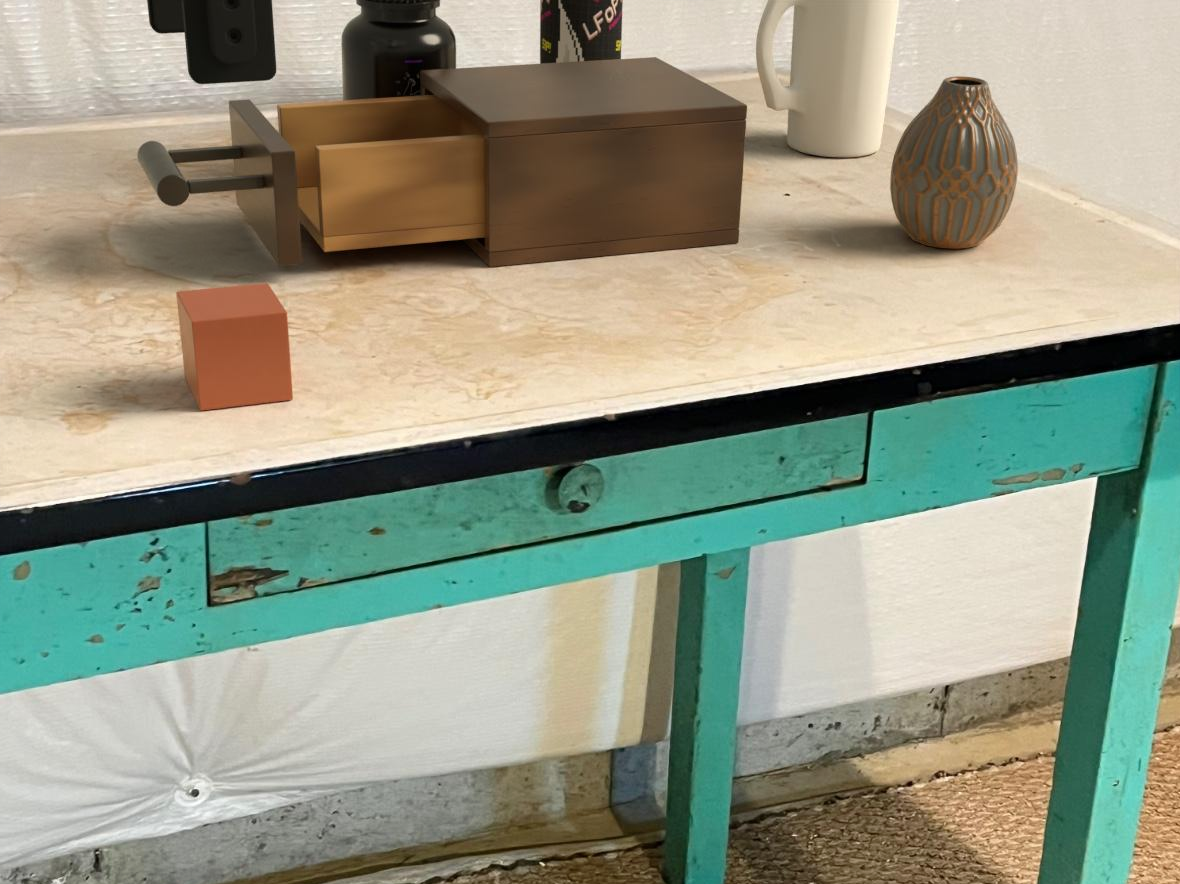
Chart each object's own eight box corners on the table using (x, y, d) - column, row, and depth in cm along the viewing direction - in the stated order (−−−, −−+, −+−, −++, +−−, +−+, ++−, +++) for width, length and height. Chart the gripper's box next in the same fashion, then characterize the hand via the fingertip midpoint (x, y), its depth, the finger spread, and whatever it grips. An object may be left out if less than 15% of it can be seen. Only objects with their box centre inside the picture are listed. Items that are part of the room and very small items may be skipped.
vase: (925, 262, 92) (945, 99, 88) (862, 226, 98) (877, 71, 94) (1031, 251, 95) (1056, 90, 90) (964, 216, 100) (984, 64, 96)
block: (200, 411, 72) (191, 321, 70) (184, 377, 75) (175, 291, 73) (293, 400, 73) (287, 311, 72) (274, 367, 77) (268, 282, 75)
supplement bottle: (412, 198, 101) (406, -14, 95) (323, 179, 104) (312, -28, 98) (479, 173, 106) (477, -30, 100) (392, 156, 109) (385, -42, 103)
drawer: (171, 276, 85) (159, 160, 82) (138, 212, 94) (127, 106, 91) (530, 243, 91) (530, 134, 88) (466, 186, 100) (464, 86, 97)
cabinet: (489, 267, 90) (488, 122, 86) (423, 202, 100) (419, 70, 96) (738, 243, 95) (747, 104, 91) (651, 183, 105) (656, 56, 101)
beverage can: (576, 121, 118) (579, -63, 112) (523, 105, 122) (523, -73, 116) (636, 109, 122) (642, -69, 116) (582, 94, 125) (585, -79, 119)
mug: (845, 129, 118) (863, -54, 112) (904, 153, 113) (925, -38, 107) (722, 144, 114) (733, -46, 108) (778, 169, 108) (792, -29, 103)
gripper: (32, -448, 65) (87, 18, 73) (85, -469, 51) (146, 110, 59) (228, -440, 67) (260, 10, 76) (331, -458, 53) (356, 97, 62)
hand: (210, 54), depth 67 cm, fingers open, 9 cm apart
